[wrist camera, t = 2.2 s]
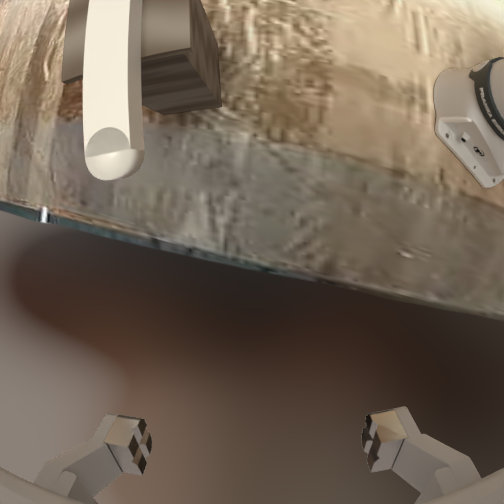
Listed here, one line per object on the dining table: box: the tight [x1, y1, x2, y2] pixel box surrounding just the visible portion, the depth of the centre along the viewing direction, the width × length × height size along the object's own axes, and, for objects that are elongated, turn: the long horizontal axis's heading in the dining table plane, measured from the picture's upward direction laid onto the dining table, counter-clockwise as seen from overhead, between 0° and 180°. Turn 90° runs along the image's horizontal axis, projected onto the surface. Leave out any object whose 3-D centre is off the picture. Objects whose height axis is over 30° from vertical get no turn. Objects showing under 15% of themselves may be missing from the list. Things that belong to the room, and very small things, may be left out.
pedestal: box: [62, 0, 222, 115], centre depth 30 cm, size 12×11×26 cm
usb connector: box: [83, 0, 145, 180], centre depth 17 cm, size 22×4×2 cm, turn 4°
